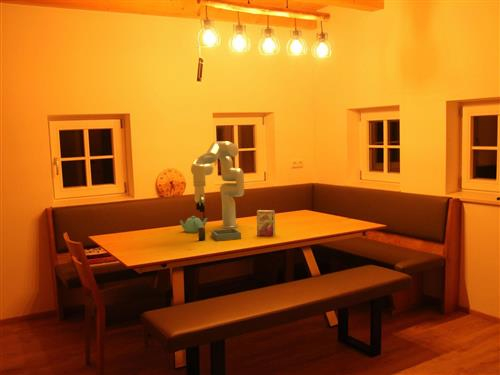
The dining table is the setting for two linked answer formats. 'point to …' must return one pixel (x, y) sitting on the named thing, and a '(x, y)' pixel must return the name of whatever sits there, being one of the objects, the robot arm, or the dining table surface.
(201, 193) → the robot arm
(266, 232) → the candy bar box
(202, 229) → the battery cell
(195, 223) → the teapot
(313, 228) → the dining table surface
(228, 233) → the trough
